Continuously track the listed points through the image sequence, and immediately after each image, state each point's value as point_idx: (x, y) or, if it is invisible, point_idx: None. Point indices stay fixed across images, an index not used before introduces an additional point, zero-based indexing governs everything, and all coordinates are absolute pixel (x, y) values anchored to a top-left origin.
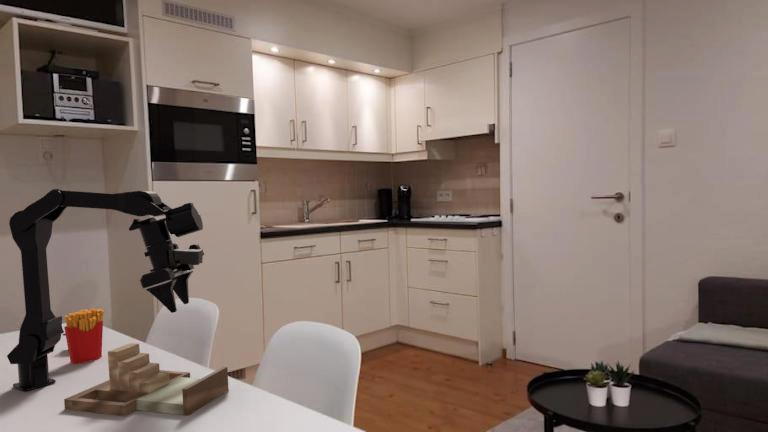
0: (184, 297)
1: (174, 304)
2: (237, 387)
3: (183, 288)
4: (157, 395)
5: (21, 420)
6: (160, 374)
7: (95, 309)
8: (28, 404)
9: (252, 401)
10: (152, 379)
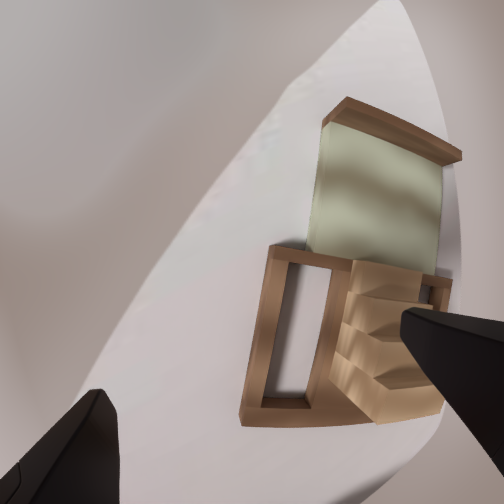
0: (100, 439)
1: (457, 314)
2: (303, 106)
3: (68, 500)
4: (418, 242)
5: (429, 427)
6: (373, 281)
7: None
8: (375, 474)
9: (364, 67)
10: (404, 279)
